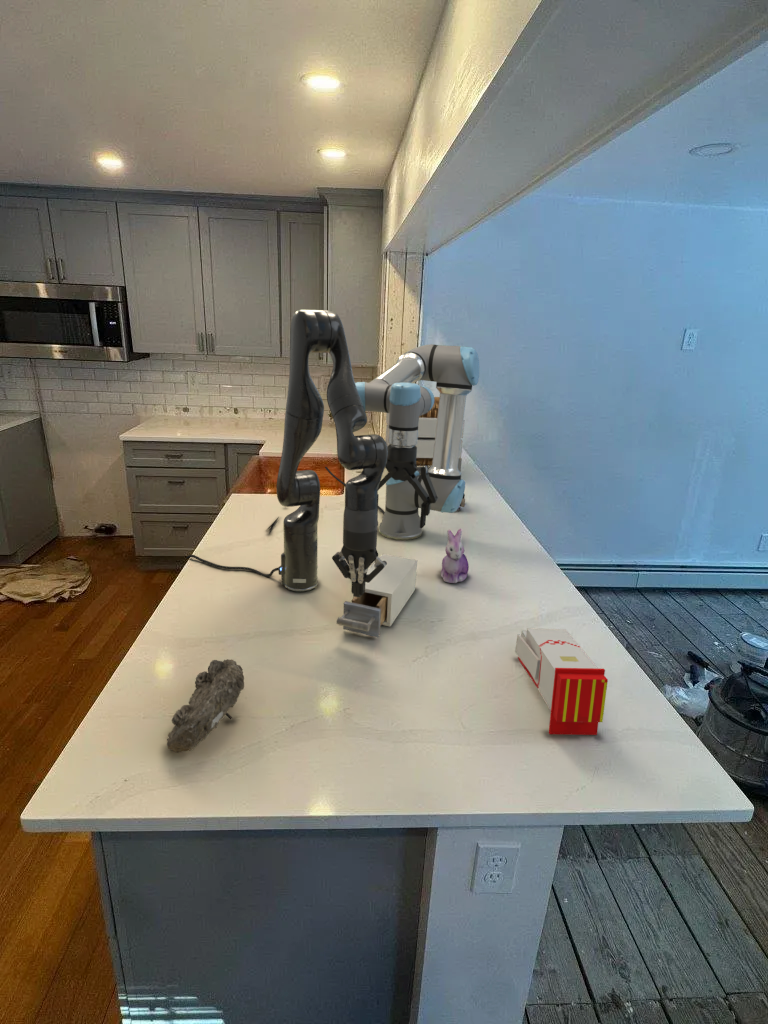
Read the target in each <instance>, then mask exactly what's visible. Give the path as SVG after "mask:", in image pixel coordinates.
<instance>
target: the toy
mask: <svg viewBox="0 0 768 1024" xmlns="http://www.w3.org/2000/svg"><path fill="white" fill-rule="evenodd" d="M520 632H521V633H520V634H519V633H518V634H517V635H516V642H515V647H514V653H515V654H516V655H517V660H518V661H519V663H520V664H521V666H522V667H523V669H524V670H525V672H526V673H527V675H528V676H529V678H530V680H531V681H532V683H533V684H534V685H535V687H536V688H537V689H538V692H539V694H540V696H541V697H542V699H543V701H544V702H545V704H546V706H547V708H548V710H549V711H550V716H549V724H548V734H549V735H566V736H567V735H568V736H569V735H571V736H575V735H576V736H597V735H598V730H599V723H603V722H604V714H605V705H606V698H607V689H608V682H609V680H608V678H607V677H606V676H605V674H606V669H604V668H599V667H598V666H597V664H596V663H594V662H593V660H592V659H591V657H589V655H588V654H587V653H586V652H585V650H584V649H583V648H582V647H581V646H580V644H579V643H578V642H577V641H576V640H575V639H574V637H573V636H572V635H571V634H570V632H569V631H568V630H567V629H566V628H535V627H534V628H533V627H532V628H531V627H529V628H526V630H523V629H521V631H520Z"/></svg>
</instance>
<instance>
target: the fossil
mask: <svg viewBox="0 0 768 1024" xmlns="http://www.w3.org/2000/svg"><path fill="white" fill-rule="evenodd" d="M243 670H244V669H243V667H242V665H240V664H237V662H236V661H235V660H234V659H232V658H231V659H227V658H226V659H224V660H223V661H222V660H217V659H212V660H211V661H210V663H209V665H208V666H207V671H201V672H199V673H198V674H197V675H196V676H195V680H194V684H195V685H194V687H195V689H194V690H193V693H192V694H191V697H190V698H189V700H188V704H184V705H182V706H181V707H180V709H177V710H176V711H175V713H174V715H173V716H172V718H171V723H172V724H173V727H172V730H171V731H170V732H168V734H167V738H166V741H167V742H166V745H167V749H168V750H169V751H173V752H174V753H176V754H178V753H182V752H188V751H189V752H192V751H193V750H195V748H196V747H197V746H199V744H200V743H201V742H203V741H204V740H205V739H206V738H207V737H208V736H209V735H210V734H211V733H212V732H214V730H215V729H217V727H218V726H219V724H220V722H221V721H222V720H223V719H224V718H225V716H226V717H227V719H229V720H233V717H232V715H230V714H229V710H230V709H231V708H234V706H235V704H236V703H237V702H238V699H239V697H240V695H241V693H242V691H243V690H245V689H244V688H245V675H244V671H243Z"/></svg>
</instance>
